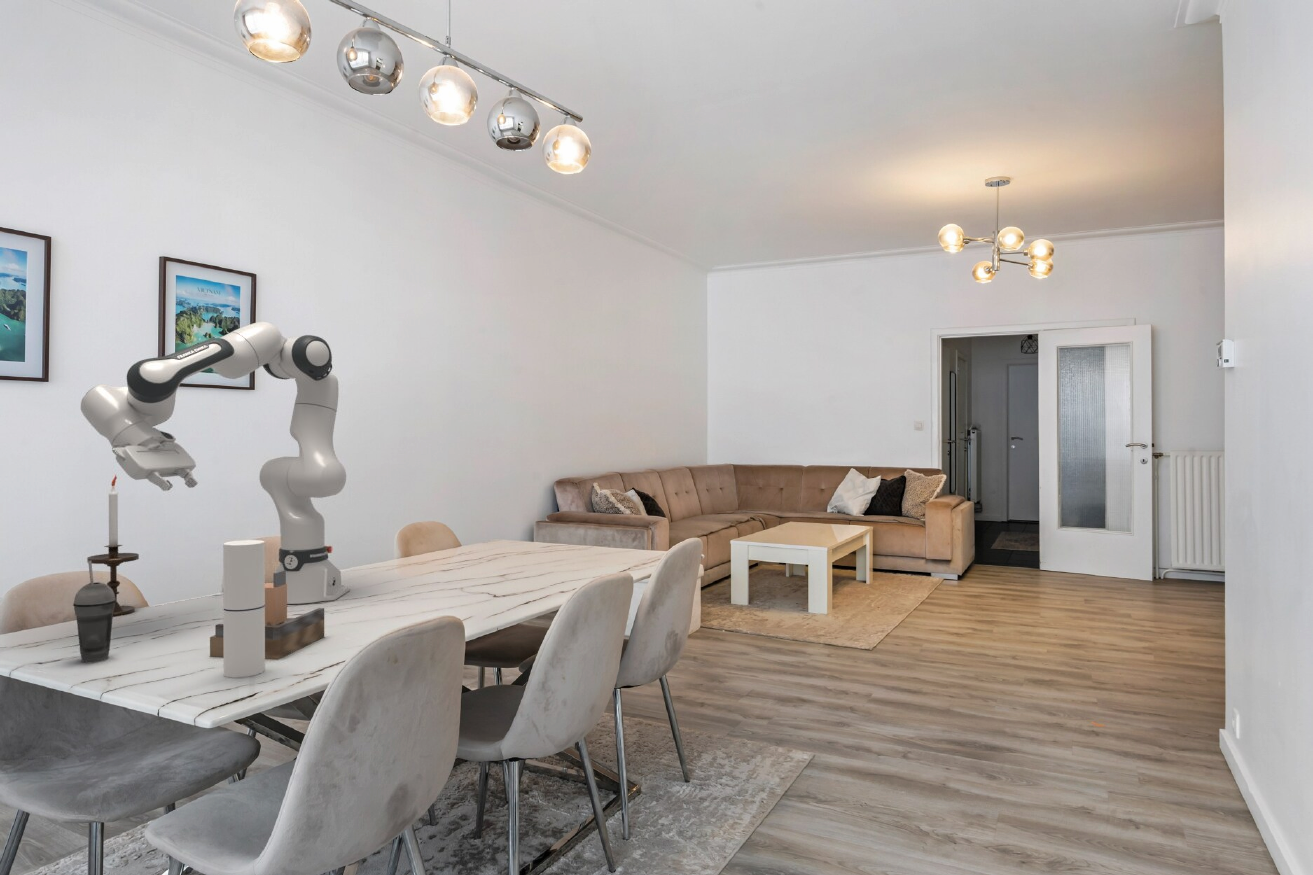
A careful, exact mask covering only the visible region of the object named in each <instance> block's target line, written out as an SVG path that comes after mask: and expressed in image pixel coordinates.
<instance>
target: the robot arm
mask: <svg viewBox="0 0 1313 875" xmlns="http://www.w3.org/2000/svg"><path fill="white" fill-rule="evenodd" d="M332 355H333V354H332V350H331V347H330V345H329V344H328V342H327V341H326V340H325V339H323V338H322V337H320V336H316V335H312V334H311V335H310V334H306V335H299V336H292V337H289V338H286V337H284V336H283V334H282V333H281V331H280V330H279V328H278V327H276V325H274V324H273V323H271V322H268V321H258V322H254V323H250V324H248V325H245V326H242V327H239V328H237V329H235V330H232V331H230V332H229V333H227V334H225V335H223V336H221V337H214V338H209V339H207V340H204V341H200V342H198V343H196V344H193V345H190V346H187V347H185V348H182V349H180V350H178V351H175V352H173V353H169V354H167V355H164V356H156V357H151V358H150V357H149V358H145V359H142V360H138V361H137V362H136V363H135V362H134V364H132V365H131V366H130V367H129V369H128V370H127V373H126V384H127V386H113V385H108V384H103V383H101V384H98V385H95V386H93V387H91V389H90V390H88V391H87V392H86V393H85V395H84V396H83V397H82V399H81V402H80V410H81V413H82V415H83V417H84V419H86V420H87V421H88V422H89V424H90V425H91V426H92V428H94V429H95V431H96V432H97V433H98V434H99V435H101V436H102V437H104V438H106V440H108V442H109V444H110V445H111V449H112V450H111V451H112V453H113V454H114V455H115V460H116V462H117V463H118V465H119V466H120V468H122V470H123V471H124V472H125V473H126V475H128V477H129V478H132V479H133V480H135V481H137V480H138V481H139V480H147V481H148V482H150V483H152V484H153V485H155V486H158V487H159V488H160V489H161V490H162V491H163V492H167V491H170V490H171V489H172V488H173V487H174V486H173V485H174V484H172V483H171V481H170V480H168V479H165V478H170V477H172V478H173V477H180V478H181V479H183V480H184V485H185V486H187V487H188V489H190V488H191V489H192V488H195V487H196V486H197V485H198V484H199V483H198V482H199V481H197V480H196V478H194V475H193V472H192V471H193V470H194V469H195V468H196V467H197V464H196V462H195V459H193V457H192V456H191V455H190V454H189V452H187V451H186V450H185V449H184V447H182V446H181V445H180V444H179V443H177V442H176V437H175V436H174V435H173V434H171V433H169V432H165V431H162V430H160V429H158V428H156V426H159V425H161V424H163V423H165V422H166V421H168V420H169V419H170V418H171V417H172V415H173V413H174V409H175V405H176V397H177V396H176V395H177V391H178V389H179V386H180V385H181V384H182V383H183V381H184V380H186V379H187V378H189V377H191V376H194V375H196V374H198V373H201V372H202V371H205V370H208V369H211V370H213V371H214V372H215V373H216V374H218V375H219V376H220V377H223V378H226V379H229V380H236V379H239V378H242V377H246V376H247V375H249V374H251V373H253V372H254V371H256V370H258V369H259V368H261V367H263V369H264V370H265V371H266V373H268V375H270V376H271V377H273V378H276V379H277V380H279V379H280V380H290V379H294V380H295V383H296V391H297V392H296V396H295V400H294V405H293V409H292V415H291V420H290V426H289V433H290V436H291V438H293V439H294V440H295V441H296V442H297V444H298V448H299V452H298V454H299V455H298V456H281V457H277V458H273V459H270V460H267V461H266V462H265V463H264V464H263V465H262V466H261V468H260V470H259V483H260V486H261V487H262V489H263V490H265V492H267V493H268V495H269V496H270V498H271V499H272V501H273V503H274V506H275V508H276V511H277V514H278V517H279V519H278V520H279V528H280V533H279V534H280V548H279V549H278V562H279V565H278V566H277V567H276V568H275V572H274V573H276V572H279V571H282V570H286V583H287V605H290V604H291V605H292V604H293V605H295V604H311V603H312V604H313V603H318V602H327V601H336V600H338V598H340V597H342V596H344V595H345V594H346V593H348V592H349V591H351V587H350V586H349V585H342V574H341V571H340V569H339V568H337V567H336V566H335V564H334V563H332V562H331V561H330V560H329V555H328V554H332V552H333V546H332V545H325V519H324V516H323V515H322V514H321V513H320V512H319V511H317V509H316V508H315V506H314V504H313V501H312V499H311V498H315V499H316V498H317V499H323V498H327V497H331V496H336V495H337V494H340V492H342V491H343V489H344V487H345V484H346V483H347V472H346V470H345V469H346V468H345V467H344V466H343V464H342V463H341V462H340V461H339V460H338V458H337V456H336V453H335V447H334V439H333V438H334V432H335V431H334V430H335V422H336V418H337V412H338V403H339V380H338V378H337V377H336V376H335V374H333V373H332V370H333V364H332V360H333V359H332V358H333V356H332Z"/></svg>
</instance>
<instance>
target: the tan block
mask: <svg viewBox="0 0 1313 875" xmlns="http://www.w3.org/2000/svg"><path fill="white" fill-rule="evenodd" d="M272 575H273V582H272V583H271V582H265V625H269V626H275V625H277V624H282V623H284V622H285V621H286V620H287V618H288V604H287V583H286V570H282V571H279V572H276V573H275V572H273V574H272Z"/></svg>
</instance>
